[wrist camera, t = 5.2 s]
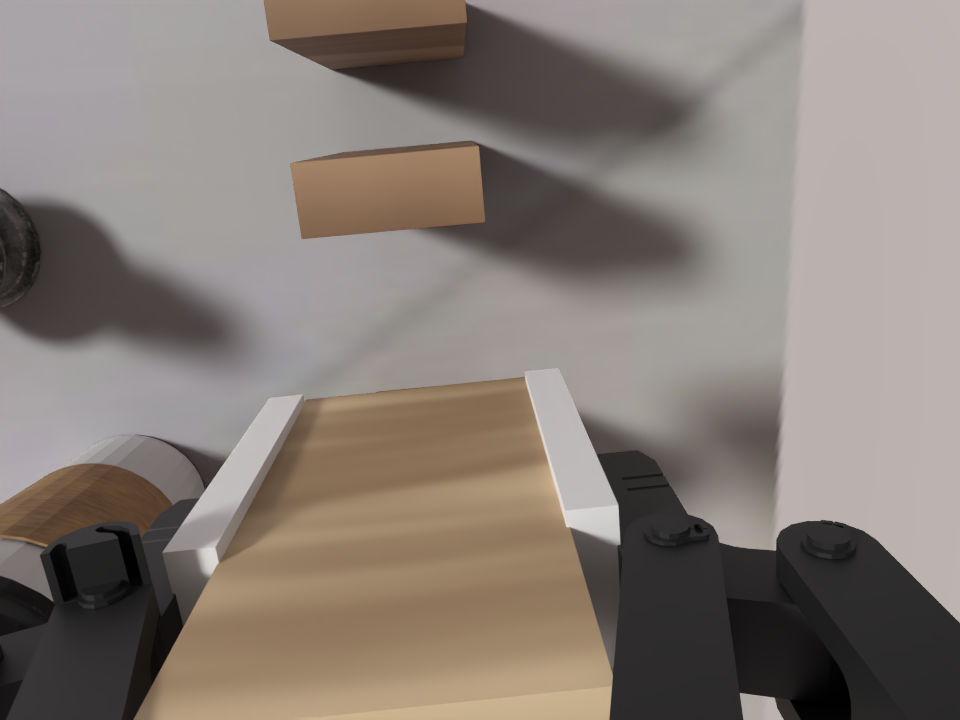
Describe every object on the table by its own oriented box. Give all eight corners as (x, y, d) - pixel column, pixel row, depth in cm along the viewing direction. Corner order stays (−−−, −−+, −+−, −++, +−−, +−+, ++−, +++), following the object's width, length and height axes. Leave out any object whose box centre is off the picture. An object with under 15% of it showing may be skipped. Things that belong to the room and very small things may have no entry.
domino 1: (323, 12, 28) (256, -48, 19) (458, 0, 28) (459, -66, 19) (331, 69, 29) (270, 40, 19) (463, 57, 29) (467, 22, 19)
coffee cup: (52, 385, 32) (-274, 592, 18) (252, 433, 33) (96, 667, 19) (30, 556, 34) (-275, 862, 20) (218, 597, 35) (55, 918, 21)
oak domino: (306, 399, 17) (123, 737, 8) (525, 376, 17) (616, 685, 8) (320, 479, 18) (167, 885, 8) (533, 457, 18) (624, 838, 8)
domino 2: (343, 152, 30) (290, 163, 20) (471, 140, 30) (478, 146, 20) (350, 204, 30) (302, 239, 21) (475, 192, 30) (485, 222, 21)
